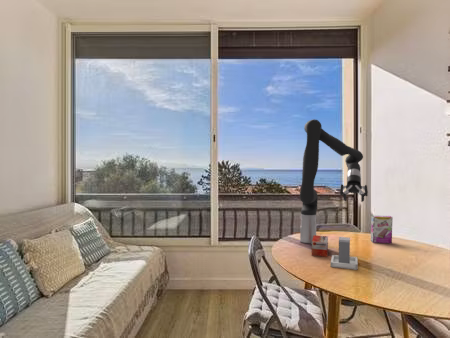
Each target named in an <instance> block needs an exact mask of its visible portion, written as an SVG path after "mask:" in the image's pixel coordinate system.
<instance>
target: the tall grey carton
mask: <svg viewBox="0 0 450 338" xmlns="http://www.w3.org/2000/svg"><path fill="white" fill-rule="evenodd" d="M350 245H351V237H345V236H339V237H338V255H339V263H348V264H350V257H351V252H350V251H351V247H350Z"/></svg>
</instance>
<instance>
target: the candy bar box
mask: <svg viewBox="0 0 450 338" xmlns="http://www.w3.org/2000/svg"><path fill="white" fill-rule="evenodd" d="M370 218H371V219H370V221H371V222H370V223H371V224H370V241H371V243H373V244H393V216H391V215H378V214H377V215H376V214H373V215H371V216H370Z"/></svg>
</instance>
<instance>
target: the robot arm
mask: <svg viewBox="0 0 450 338" xmlns="http://www.w3.org/2000/svg"><path fill="white" fill-rule="evenodd" d="M303 129H304V131H305V133H306V143H305V144H306V145H305V148H304V152H303V156H302V173H301V174H302V175H301V176H302V178H301V186H300V192H299V200H300V202H302V206H301V210H300V226H299V227H300V231H299V232H300V233H299V234H300V237H299V238H300V239H299V241H300V243H303V244H312V239H313V236H314V235H317V210H318V199H319V198H318V197H319V196H318V192H317V191H316V189H315V188H314V187H315V179H316V176H317V172H318V168H319V161H320V160H319V159H320V158H319V157H320V144H319V143H320V142H322V143H323V144H324V145H326V146H327V147H329V148H330V149H332V150H333V152H335V153H336V154H338V155H339V156H341V157H343V156H346V155H347V156H346V157H345V160H344V161H345V165H346V167H347V174H346V185H344V184H340V191H339V192H340V196H343V198H342V199H343V201H344V202H347V195H350V194H358V195H360V196H361V197H360V199H361V201H360V202H361V203H363V202H364V201H365V197H368V196H369V194H368V193H369V192H368V185H367V184H365V185H364V186H363V185H362V172H361V166H360V164H359V162H361V161H362V160H363V159H364V154H363V152H361V151H360V150H359V149H357V148H354V147H351V146H348V145H347V144H346V143H345V142H343V141H342V140H340V139H339V138H337V137H335V136H333V135H332V134H329V133H328V132H327V131H326V130H324V129H323V128H322V123H321V121H319V120H318V119H315V118H312V119H311V120H308V121H307V122H306V123H305V124H304V128H303ZM344 190H345V191H344Z"/></svg>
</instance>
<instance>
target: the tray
mask: <svg viewBox="0 0 450 338" xmlns="http://www.w3.org/2000/svg"><path fill="white" fill-rule="evenodd" d="M330 258H331V259H330V268H335V269H336V268H338V269H347V270H348V269H349V270H358V264H359V262H358V256H350V264H348V263H339V254H338V255H337V254H331V257H330Z"/></svg>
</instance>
